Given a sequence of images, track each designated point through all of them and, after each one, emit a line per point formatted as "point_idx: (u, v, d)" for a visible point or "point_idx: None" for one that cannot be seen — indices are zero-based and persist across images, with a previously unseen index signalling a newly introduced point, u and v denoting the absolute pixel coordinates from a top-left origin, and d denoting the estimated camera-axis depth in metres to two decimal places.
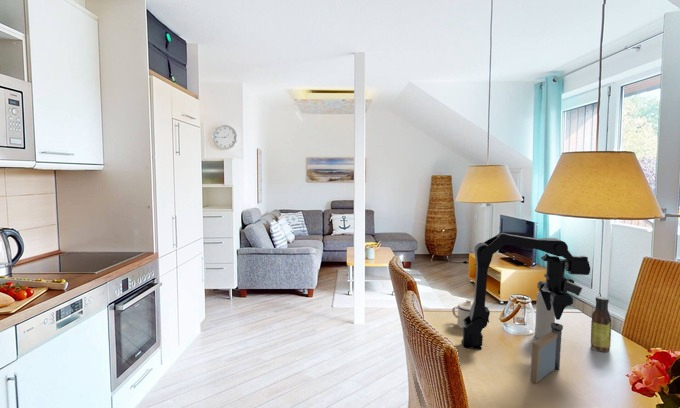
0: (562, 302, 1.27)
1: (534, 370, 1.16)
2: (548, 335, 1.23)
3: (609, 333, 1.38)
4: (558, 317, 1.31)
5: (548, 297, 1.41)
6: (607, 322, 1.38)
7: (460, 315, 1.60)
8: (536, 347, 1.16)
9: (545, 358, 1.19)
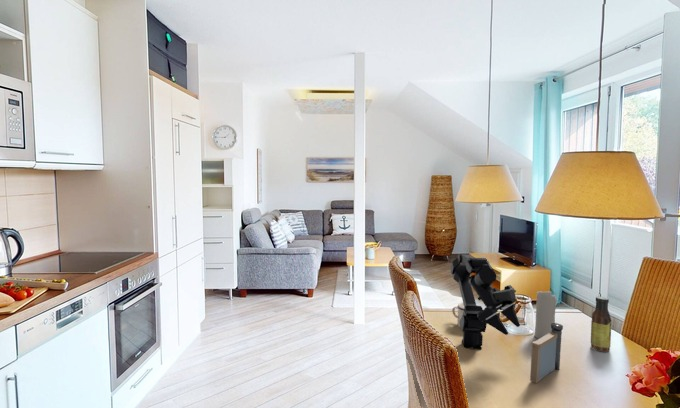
0: (484, 317, 1.24)
1: (534, 370, 1.16)
2: (548, 335, 1.23)
3: (609, 333, 1.38)
4: (504, 331, 1.23)
5: (509, 313, 1.32)
6: (607, 322, 1.38)
7: (460, 315, 1.60)
8: (536, 347, 1.16)
9: (545, 358, 1.19)
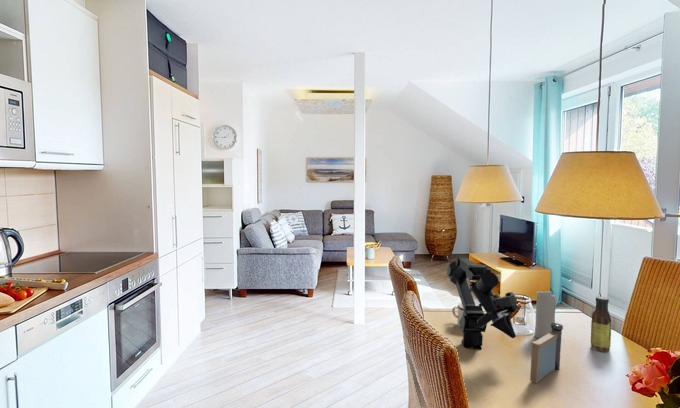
0: (483, 323, 1.23)
1: (534, 370, 1.16)
2: (548, 335, 1.23)
3: (609, 333, 1.38)
4: (511, 335, 1.25)
5: None
6: (607, 322, 1.38)
7: (460, 315, 1.60)
8: (536, 347, 1.16)
9: (545, 358, 1.19)
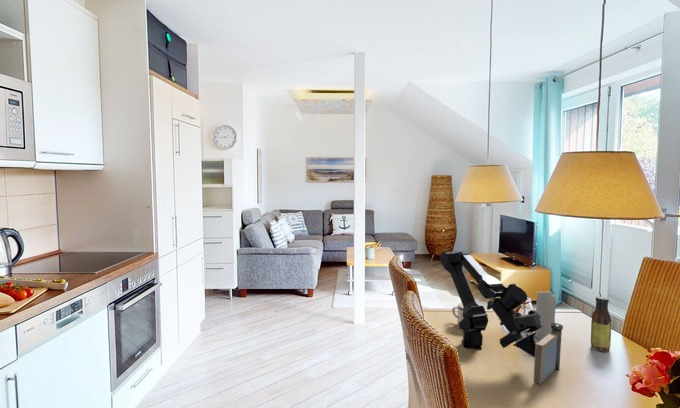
0: (507, 344, 1.17)
1: (538, 372, 1.15)
2: (549, 335, 1.22)
3: (609, 333, 1.38)
4: None
5: None
6: (607, 322, 1.38)
7: (460, 315, 1.60)
8: (540, 348, 1.15)
9: (547, 359, 1.19)
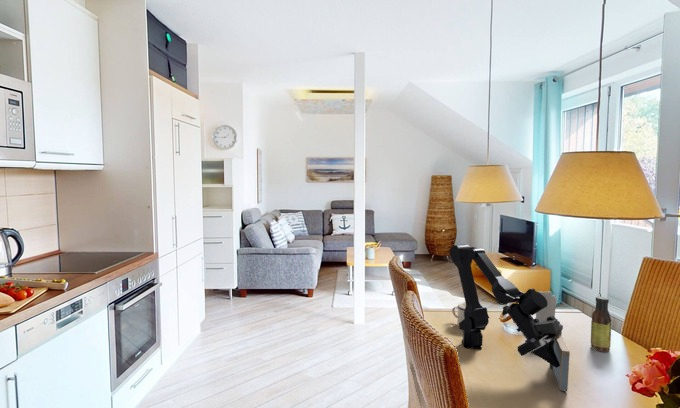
0: (526, 352, 1.13)
1: (565, 379, 1.11)
2: (558, 337, 1.21)
3: (609, 333, 1.38)
4: (554, 364, 1.15)
5: None
6: (607, 322, 1.38)
7: (460, 315, 1.60)
8: (567, 354, 1.11)
9: None
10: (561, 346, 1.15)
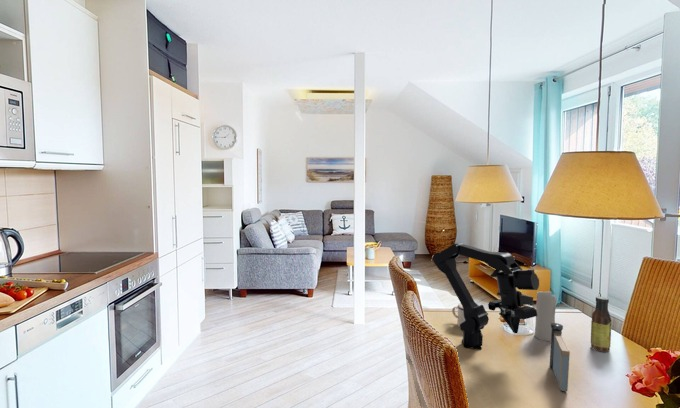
0: (529, 316, 1.22)
1: (565, 379, 1.11)
2: (558, 337, 1.21)
3: (609, 333, 1.38)
4: (516, 330, 1.30)
5: None
6: (607, 322, 1.38)
7: (460, 315, 1.60)
8: (567, 354, 1.11)
9: None
10: (561, 346, 1.15)
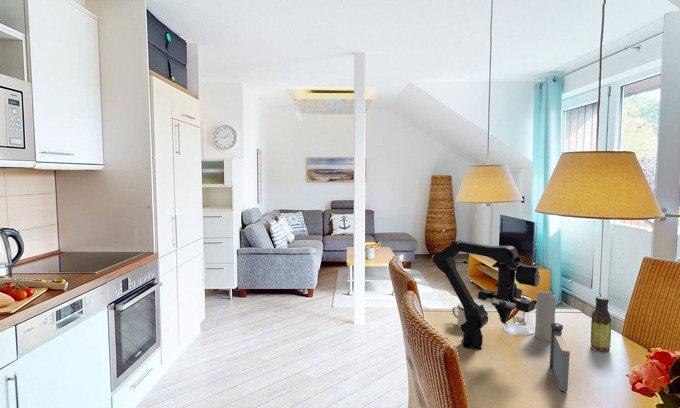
0: (530, 309, 1.26)
1: (565, 379, 1.11)
2: (558, 337, 1.21)
3: (609, 333, 1.38)
4: (506, 320, 1.34)
5: (503, 309, 1.34)
6: (607, 322, 1.38)
7: (460, 315, 1.60)
8: (567, 354, 1.11)
9: None
10: (561, 346, 1.15)
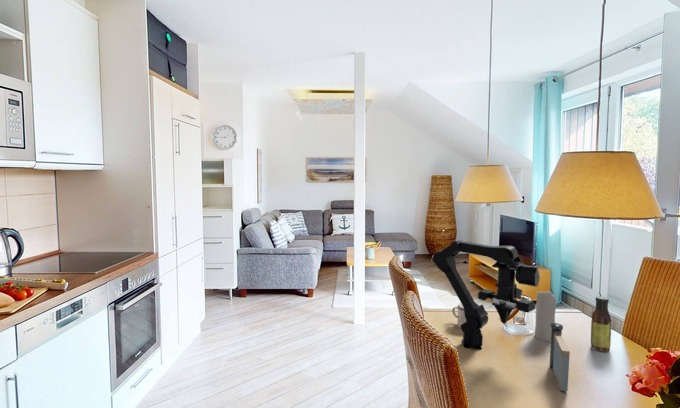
0: (530, 309, 1.26)
1: (565, 379, 1.11)
2: (558, 337, 1.21)
3: (609, 333, 1.38)
4: (506, 320, 1.34)
5: (503, 309, 1.34)
6: (607, 322, 1.38)
7: (460, 315, 1.60)
8: (567, 354, 1.11)
9: None
10: (561, 346, 1.15)
